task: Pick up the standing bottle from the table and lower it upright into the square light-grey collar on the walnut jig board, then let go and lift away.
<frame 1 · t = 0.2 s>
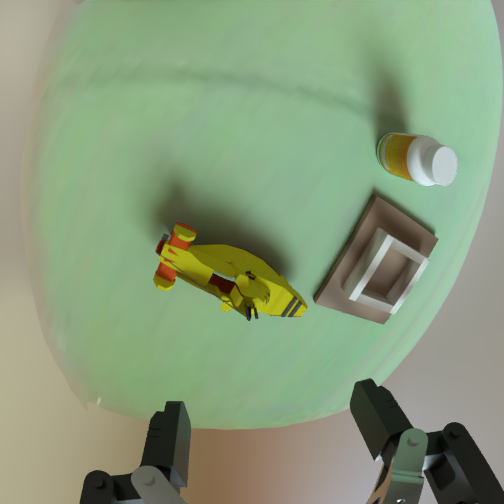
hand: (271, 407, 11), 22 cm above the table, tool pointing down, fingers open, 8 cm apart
jig board: (380, 266, 35), on the table
toy boat: (233, 263, 33), on the table
supplement bottle: (392, 152, 29), on the table
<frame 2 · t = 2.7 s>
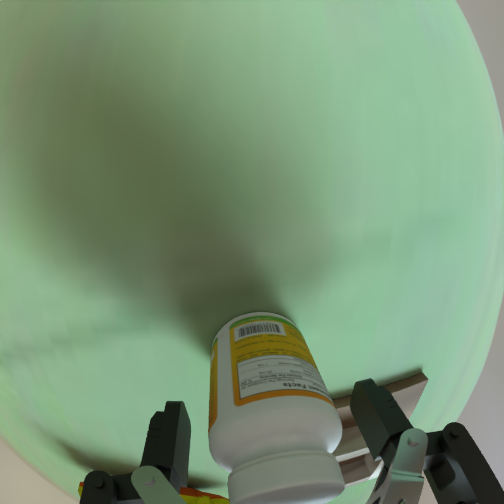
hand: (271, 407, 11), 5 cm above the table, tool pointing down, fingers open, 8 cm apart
jig board: (336, 446, 20), on the table
toy boat: (159, 482, 21), on the table
supplement bottle: (257, 346, 15), on the table
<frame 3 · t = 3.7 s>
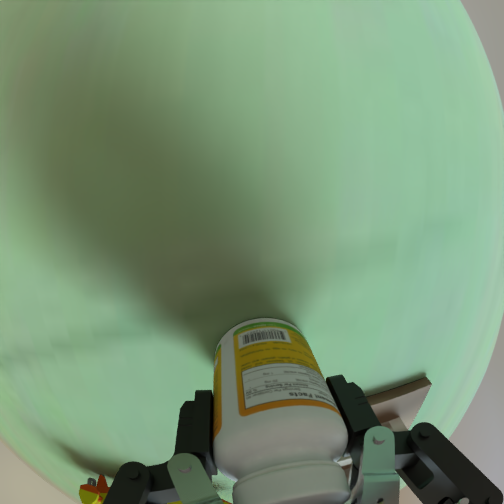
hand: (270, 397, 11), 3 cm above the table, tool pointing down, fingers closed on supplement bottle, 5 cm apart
jig board: (338, 450, 19), on the table
toy boat: (160, 485, 20), on the table
supplement bottle: (261, 352, 15), on the table, touching gripper
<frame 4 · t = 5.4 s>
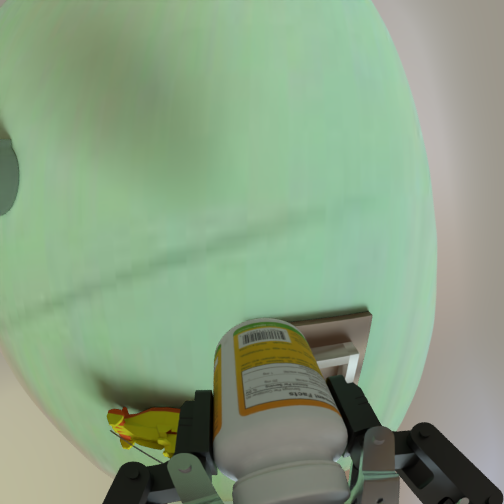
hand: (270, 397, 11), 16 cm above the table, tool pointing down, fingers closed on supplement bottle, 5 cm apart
jig board: (309, 371, 32), on the table
toy boat: (173, 412, 33), on the table
supplement bottle: (261, 352, 15), point 13 cm above the table, touching gripper
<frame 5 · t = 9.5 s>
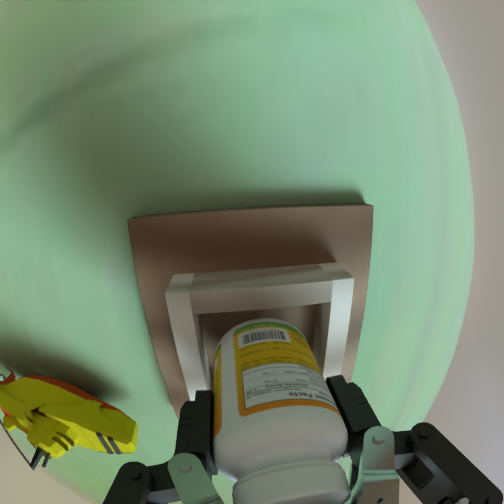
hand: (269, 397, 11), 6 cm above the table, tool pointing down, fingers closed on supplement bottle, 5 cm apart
jig board: (258, 329, 18), on the table
toy boat: (62, 388, 19), on the table
supplement bottle: (261, 352, 15), point 3 cm above the table, touching gripper
when the fingers open (6 cm above the table, at t = 9.6 s): supplement bottle drops 2 cm, resting on jig board.
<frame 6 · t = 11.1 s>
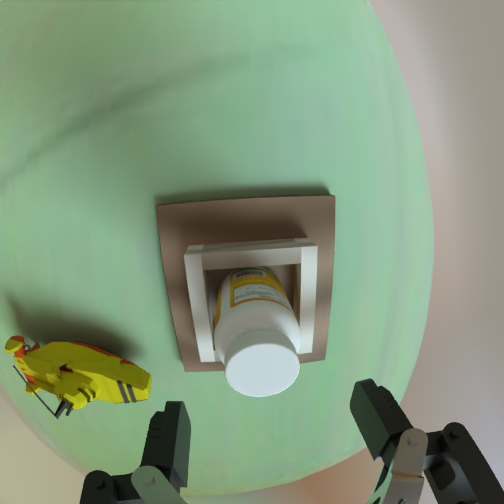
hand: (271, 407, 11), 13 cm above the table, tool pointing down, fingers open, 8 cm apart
jig board: (251, 291, 23), on the table
toy boat: (85, 352, 25), on the table
supplement bottle: (250, 294, 23), point 1 cm above the table, touching jig board
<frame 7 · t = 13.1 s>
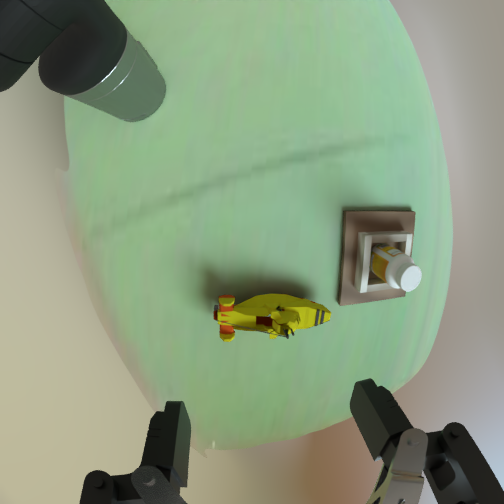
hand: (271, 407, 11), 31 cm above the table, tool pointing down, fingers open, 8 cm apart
jig board: (377, 256, 43), on the table
toy boat: (269, 303, 45), on the table
supplement bottle: (379, 257, 43), point 1 cm above the table, touching jig board
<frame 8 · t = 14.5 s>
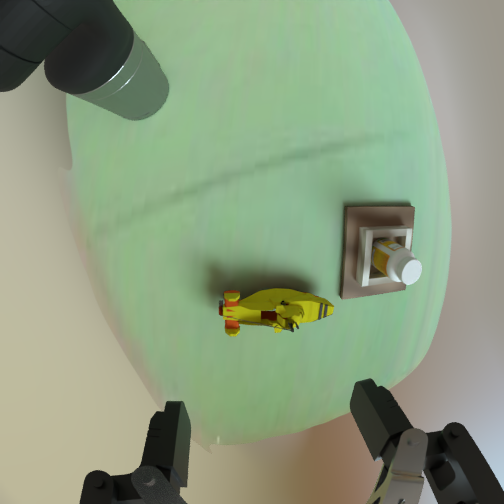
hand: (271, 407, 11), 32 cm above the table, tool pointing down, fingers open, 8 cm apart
jig board: (378, 251, 44), on the table
toy boat: (273, 298, 45), on the table
supplement bottle: (380, 251, 43), point 1 cm above the table, touching jig board
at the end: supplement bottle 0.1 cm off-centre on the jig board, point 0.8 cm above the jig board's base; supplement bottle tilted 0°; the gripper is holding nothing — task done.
